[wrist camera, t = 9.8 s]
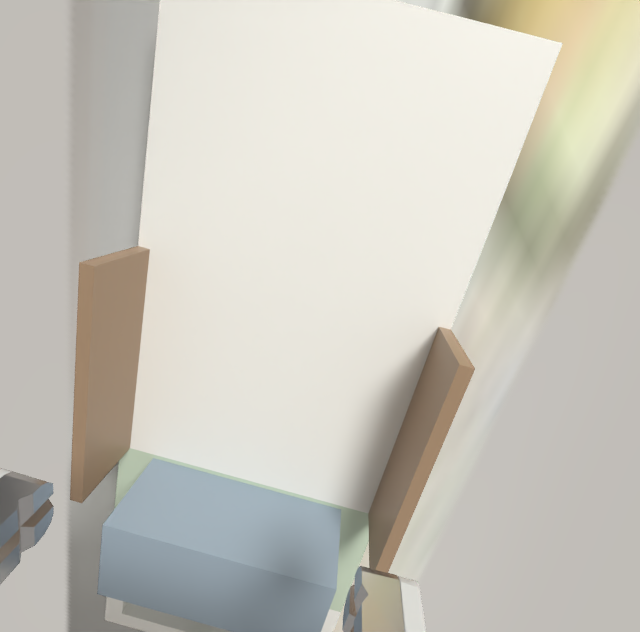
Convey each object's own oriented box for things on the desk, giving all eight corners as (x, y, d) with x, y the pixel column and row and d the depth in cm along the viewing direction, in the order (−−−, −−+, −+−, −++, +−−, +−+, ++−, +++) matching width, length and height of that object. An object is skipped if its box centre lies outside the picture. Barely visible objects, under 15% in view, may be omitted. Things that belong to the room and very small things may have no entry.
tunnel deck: (196, -21, 15) (95, -146, 9) (530, 65, 15) (636, -9, 9) (127, 580, 26) (62, 691, 20) (319, 633, 26) (307, 761, 20)
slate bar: (153, 457, 19) (102, 524, 15) (341, 509, 19) (336, 589, 15) (145, 518, 21) (97, 594, 17) (321, 567, 20) (312, 654, 17)
